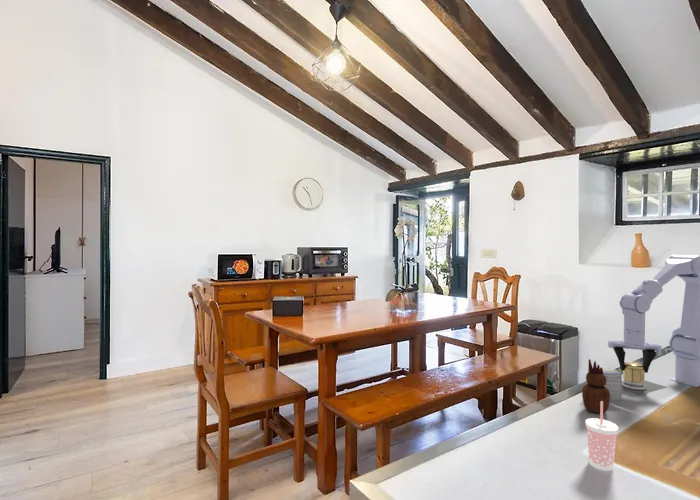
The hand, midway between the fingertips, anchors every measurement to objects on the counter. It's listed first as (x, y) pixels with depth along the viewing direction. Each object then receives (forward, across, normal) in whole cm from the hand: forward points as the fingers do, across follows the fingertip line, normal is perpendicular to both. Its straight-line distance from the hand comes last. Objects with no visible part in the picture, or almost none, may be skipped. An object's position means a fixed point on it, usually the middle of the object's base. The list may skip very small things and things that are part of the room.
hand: (633, 370), depth 132 cm
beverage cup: (+6, -22, -56) cm, 60 cm away
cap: (+3, 0, 0) cm, 3 cm away
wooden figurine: (+6, -16, -25) cm, 30 cm away
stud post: (+5, 0, 0) cm, 5 cm away
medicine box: (+6, -11, -13) cm, 18 cm away
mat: (+6, +1, +1) cm, 6 cm away
